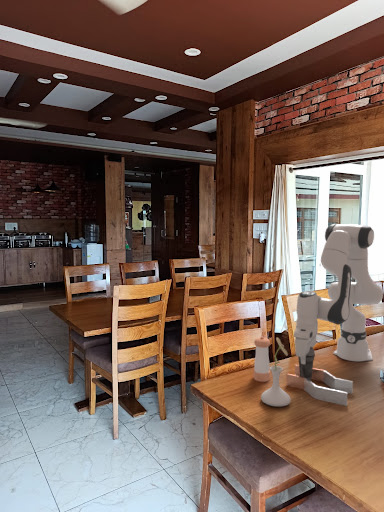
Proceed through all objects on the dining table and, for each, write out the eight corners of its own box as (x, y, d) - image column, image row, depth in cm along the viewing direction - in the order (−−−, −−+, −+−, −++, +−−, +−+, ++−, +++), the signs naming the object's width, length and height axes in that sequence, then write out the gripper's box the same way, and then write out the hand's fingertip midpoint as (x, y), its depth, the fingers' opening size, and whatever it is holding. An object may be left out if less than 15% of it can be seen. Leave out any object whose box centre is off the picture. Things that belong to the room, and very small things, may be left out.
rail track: (295, 375, 175) (295, 364, 174) (354, 387, 161) (355, 376, 161) (281, 390, 159) (282, 379, 158) (346, 406, 145) (347, 393, 145)
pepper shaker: (263, 383, 166) (263, 340, 164) (250, 378, 171) (250, 336, 170) (273, 378, 171) (273, 336, 169) (260, 373, 176) (260, 333, 175)
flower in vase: (289, 412, 141) (290, 346, 139) (258, 406, 145) (259, 342, 143) (292, 396, 153) (293, 335, 151) (264, 392, 157) (264, 333, 155)
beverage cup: (315, 383, 161) (316, 337, 160) (297, 382, 163) (298, 336, 161) (313, 377, 169) (314, 332, 167) (296, 375, 170) (297, 331, 168)
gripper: (305, 322, 174) (305, 352, 175) (292, 334, 157) (291, 366, 158) (320, 324, 171) (319, 354, 172) (308, 336, 153) (307, 369, 155)
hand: (306, 360), depth 165 cm, fingers closed on beverage cup, 7 cm apart
